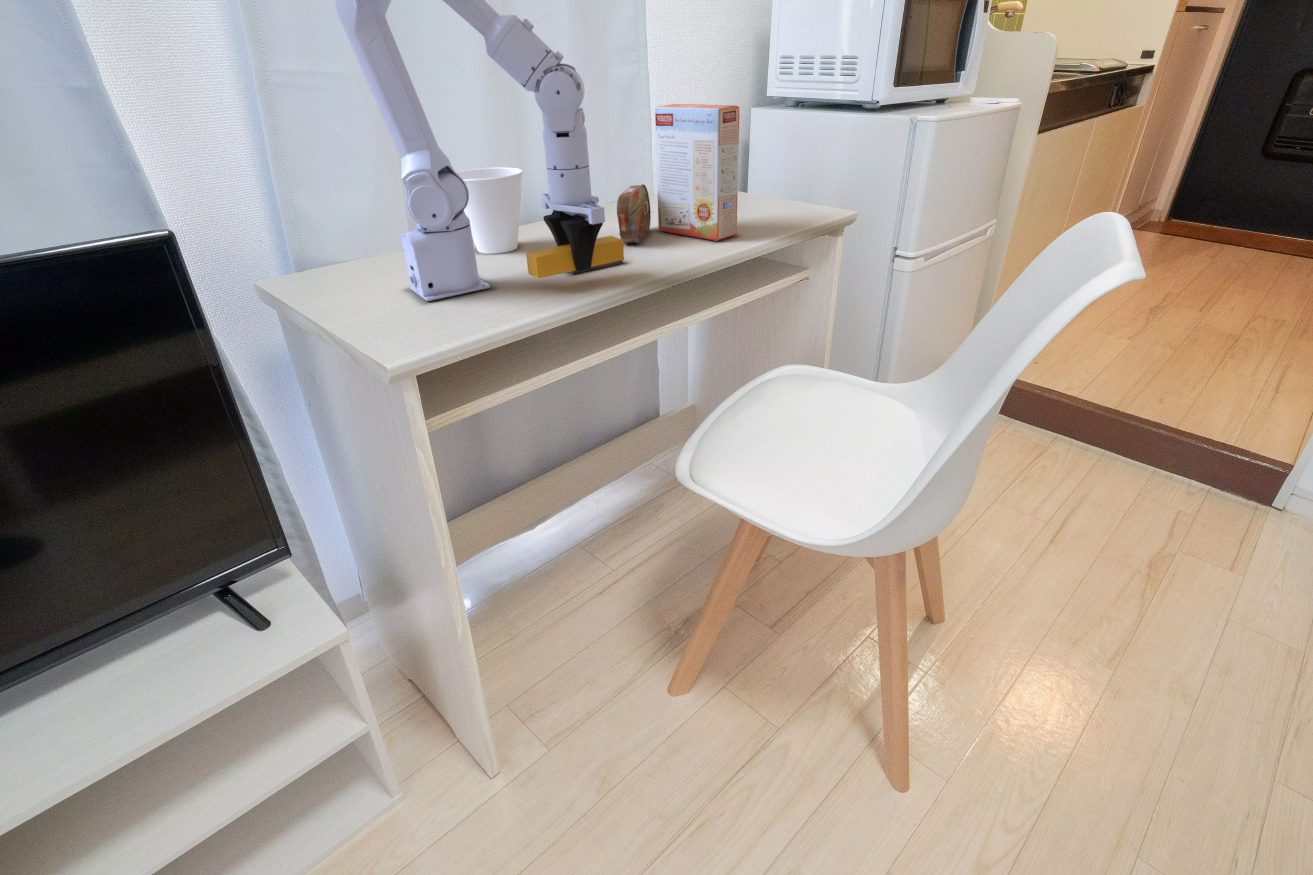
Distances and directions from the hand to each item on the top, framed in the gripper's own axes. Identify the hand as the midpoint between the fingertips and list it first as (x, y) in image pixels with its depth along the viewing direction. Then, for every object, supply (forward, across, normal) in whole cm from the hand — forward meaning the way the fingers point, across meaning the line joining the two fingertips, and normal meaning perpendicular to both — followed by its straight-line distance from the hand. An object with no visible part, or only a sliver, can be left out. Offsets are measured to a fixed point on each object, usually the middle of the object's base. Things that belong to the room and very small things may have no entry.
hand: (577, 266), depth 100 cm
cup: (+3, +27, +1) cm, 27 cm away
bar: (0, 0, 0) cm, 0 cm away
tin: (+3, +17, -21) cm, 27 cm away
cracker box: (+3, +12, -31) cm, 33 cm away
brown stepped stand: (+2, +9, -6) cm, 11 cm away
